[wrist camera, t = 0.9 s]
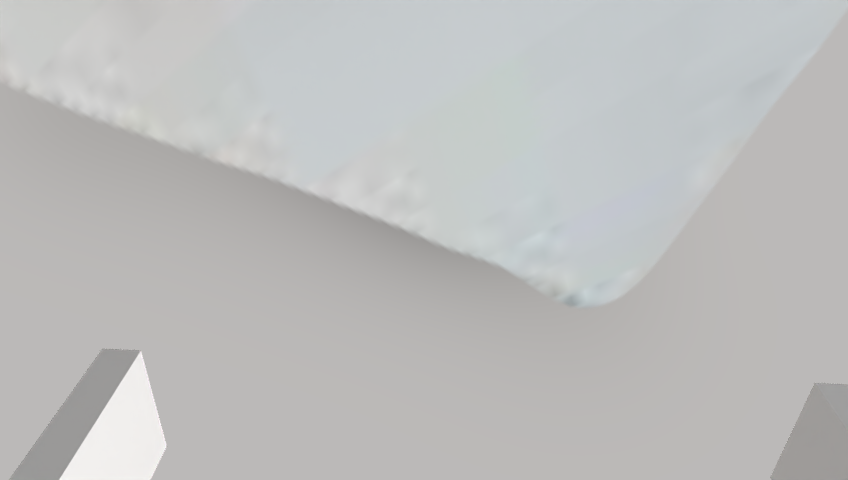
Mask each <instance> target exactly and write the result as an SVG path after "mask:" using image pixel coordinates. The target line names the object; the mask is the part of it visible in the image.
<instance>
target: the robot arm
mask: <svg viewBox="0 0 848 480" xmlns="http://www.w3.org/2000/svg"><path fill="white" fill-rule="evenodd" d="M166 447H167V445H166V442H165V438H164V434H163V431H162V427H161V423H160V419H159V416H158V412H157V408H156V405H155V401H154V397H153V393H152V390H151V386H150V383H149V379H148V375H147V371H146V367H145V364H144V360H143V357H142V353H141V351H139V350H119V349H102V350H101V352H100V353H99V355H98V356H97V357H96V359H95V360H94V362H93V363H92V364H91V366H90V367H89V368H88V370H87V371H86V373H85V374H84V376H83V377H82V378H81V380H80V381H79V383H78V384H77V385H76V387H75V388H74V389H73V391H72V392H71V394H70V395H69V397H68V398H67V399H66V401H65V402H64V403H63V405H62V406H61V408H60V409H59V410H58V412H57V413H56V415H55V416H54V418H53V419H52V420H51V422H50V423H49V424H48V426H47V427H46V429H45V430H44V431H43V433H42V434H41V436H40V437H39V439H38V440H37V441H36V443H35V444H34V446H33V447H32V448H31V450H30V451H29V453H28V454H27V455H26V457H25V458H24V460H23V461H22V462H21V464H20V465H19V467H18V468H17V469H16V471H15V472H14V474H13V475H12V476H11V478H10V479H9V480H151V478H152V475H153V474H154V472H155V469H156V467H157V465H158V463H159V461H160V459H161V457H162V455H163V453H164V451H165V449H166ZM771 479H772V480H848V385H846V384H826V383H815V384H814V386H813V388H812V390H811V392H810V395H809V397H808V399H807V401H806V403H805V405H804V407H803V409H802V411H801V414H800V416H799V418H798V420H797V422H796V424H795V426H794V428H793V431H792V433H791V435H790V437H789V439H788V441H787V443H786V445H785V447H784V450H783V452H782V454H781V456H780V458H779V460H778V462H777V465H776V467H775V469H774V471H773V473H772V475H771Z"/></svg>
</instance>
